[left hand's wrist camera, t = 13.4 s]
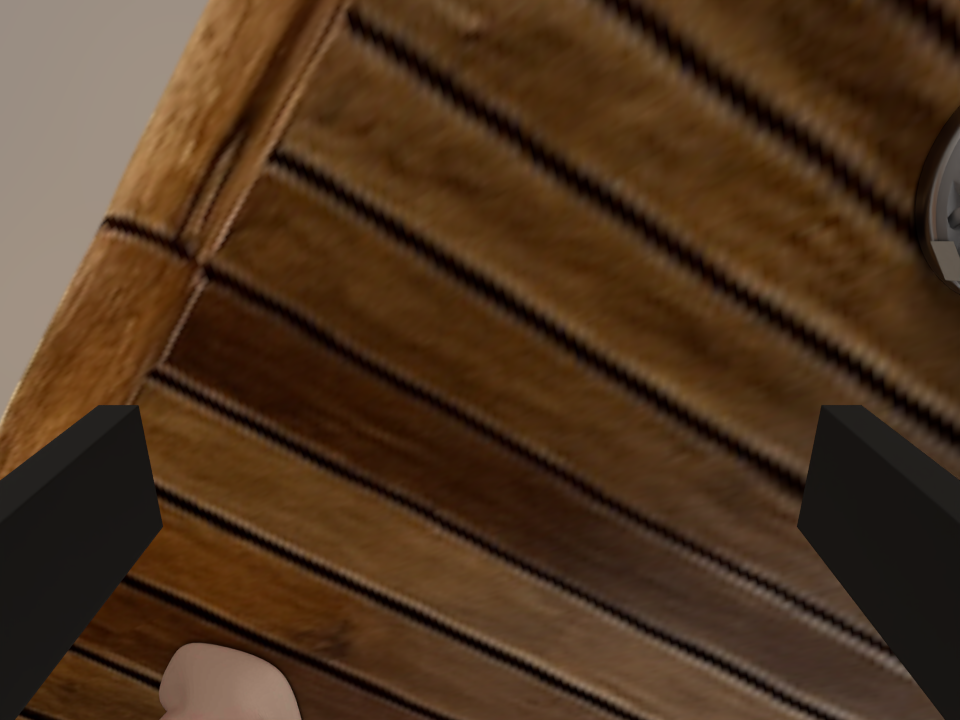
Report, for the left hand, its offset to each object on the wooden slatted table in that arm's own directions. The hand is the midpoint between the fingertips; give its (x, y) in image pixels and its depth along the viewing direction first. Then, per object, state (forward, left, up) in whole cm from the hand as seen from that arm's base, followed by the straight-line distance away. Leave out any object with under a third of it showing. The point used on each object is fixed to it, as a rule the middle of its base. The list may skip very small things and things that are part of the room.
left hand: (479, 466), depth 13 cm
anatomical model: (-2, +44, -29) cm, 53 cm away
